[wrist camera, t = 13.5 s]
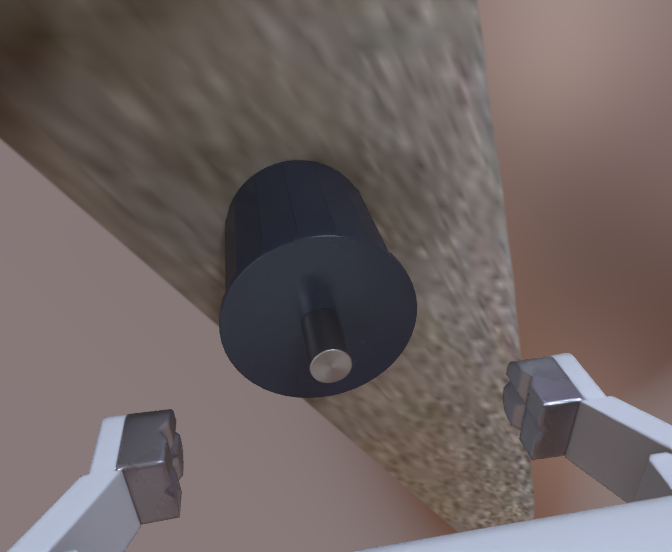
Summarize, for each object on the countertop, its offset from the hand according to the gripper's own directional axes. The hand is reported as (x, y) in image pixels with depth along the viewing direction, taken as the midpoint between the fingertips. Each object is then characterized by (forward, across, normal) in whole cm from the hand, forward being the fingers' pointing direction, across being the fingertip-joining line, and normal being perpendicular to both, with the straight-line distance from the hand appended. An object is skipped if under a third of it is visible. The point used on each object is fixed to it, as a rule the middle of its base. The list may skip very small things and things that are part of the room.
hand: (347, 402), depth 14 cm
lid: (+19, -2, +11) cm, 22 cm away
